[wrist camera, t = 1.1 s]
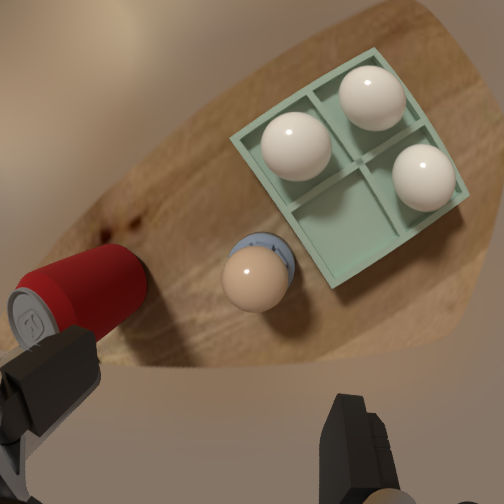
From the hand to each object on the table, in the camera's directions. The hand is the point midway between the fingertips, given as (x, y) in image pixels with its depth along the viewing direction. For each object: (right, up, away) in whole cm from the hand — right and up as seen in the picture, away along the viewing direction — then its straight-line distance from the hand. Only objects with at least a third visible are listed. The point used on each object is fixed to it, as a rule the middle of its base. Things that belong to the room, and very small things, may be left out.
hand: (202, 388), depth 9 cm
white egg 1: (+5, +11, +12) cm, 17 cm away
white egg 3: (+13, +9, +11) cm, 19 cm away
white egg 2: (+9, +14, +10) cm, 20 cm away
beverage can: (-11, +2, +18) cm, 21 cm away
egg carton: (+9, +11, +13) cm, 19 cm away
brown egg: (+2, +3, +14) cm, 14 cm away
